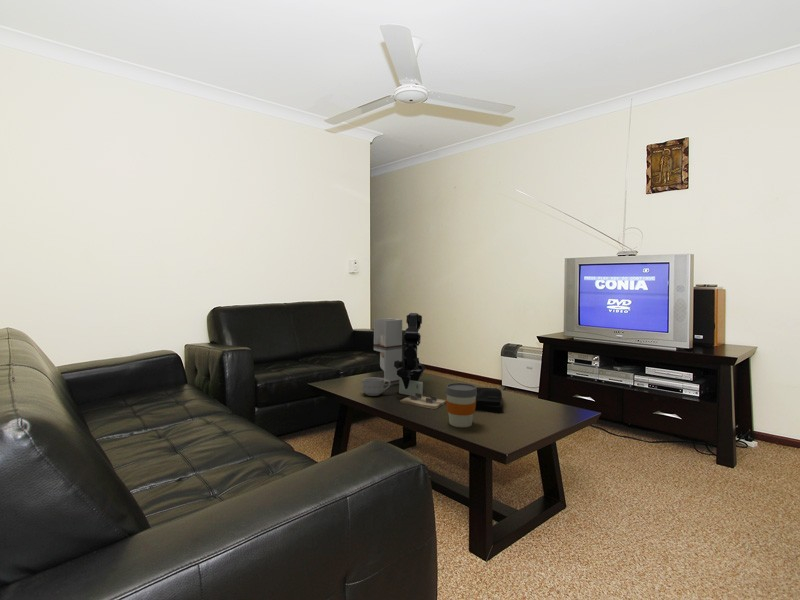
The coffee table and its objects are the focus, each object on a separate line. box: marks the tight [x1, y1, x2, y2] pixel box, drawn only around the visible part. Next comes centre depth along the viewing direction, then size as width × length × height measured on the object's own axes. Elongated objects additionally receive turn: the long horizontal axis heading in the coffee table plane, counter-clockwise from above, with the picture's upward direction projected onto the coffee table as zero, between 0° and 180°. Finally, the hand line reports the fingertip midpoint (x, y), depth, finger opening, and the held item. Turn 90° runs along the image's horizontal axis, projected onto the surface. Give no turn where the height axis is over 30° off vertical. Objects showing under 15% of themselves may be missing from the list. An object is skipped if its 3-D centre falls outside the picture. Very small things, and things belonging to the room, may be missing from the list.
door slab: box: [398, 378, 424, 396], centre depth 217 cm, size 3×12×7 cm, turn 59°
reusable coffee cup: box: [445, 382, 477, 428], centre depth 175 cm, size 13×12×15 cm
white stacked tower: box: [373, 317, 403, 387], centre depth 241 cm, size 11×11×35 cm
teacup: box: [362, 376, 392, 397], centre depth 216 cm, size 14×11×8 cm
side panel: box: [399, 393, 446, 410], centre depth 204 cm, size 12×18×3 cm, turn 59°
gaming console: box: [475, 386, 504, 414], centre depth 204 cm, size 27×20×7 cm
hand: (410, 386), depth 218 cm, fingers open, 9 cm apart
